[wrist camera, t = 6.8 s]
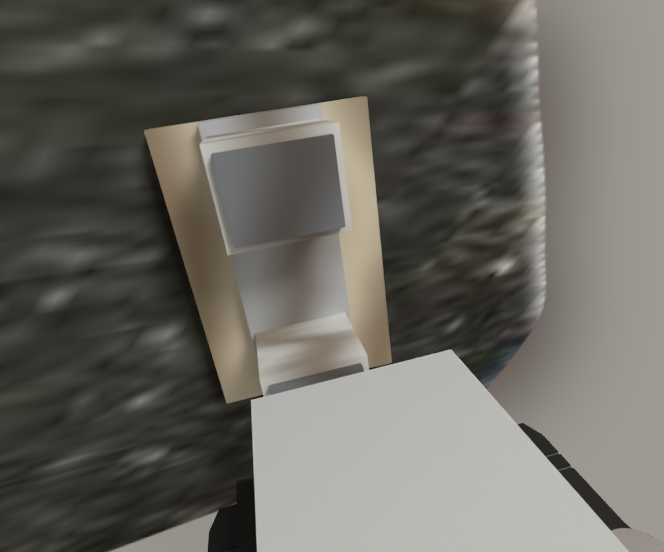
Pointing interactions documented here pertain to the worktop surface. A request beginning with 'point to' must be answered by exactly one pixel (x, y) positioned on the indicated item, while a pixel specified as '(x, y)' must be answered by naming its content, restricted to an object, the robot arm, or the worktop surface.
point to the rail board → (218, 263)
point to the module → (409, 469)
